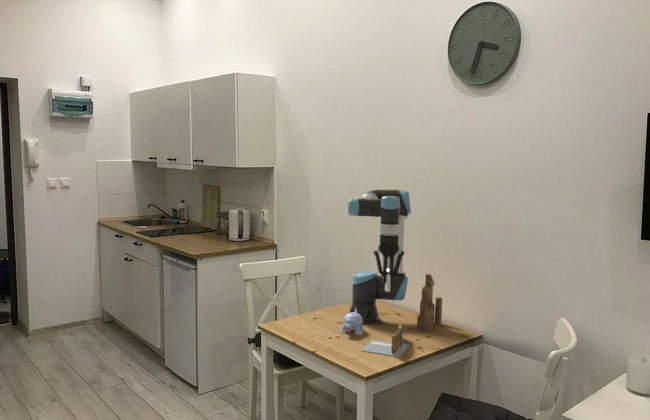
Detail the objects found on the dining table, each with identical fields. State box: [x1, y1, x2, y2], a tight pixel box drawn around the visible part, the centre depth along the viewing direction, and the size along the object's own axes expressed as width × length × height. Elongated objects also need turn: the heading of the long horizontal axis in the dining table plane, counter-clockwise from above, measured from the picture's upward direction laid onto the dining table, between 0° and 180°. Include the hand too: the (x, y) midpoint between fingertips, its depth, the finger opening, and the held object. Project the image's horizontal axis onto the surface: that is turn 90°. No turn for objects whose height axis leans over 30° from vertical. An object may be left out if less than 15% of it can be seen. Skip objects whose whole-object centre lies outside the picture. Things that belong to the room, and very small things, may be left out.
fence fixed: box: [391, 329, 403, 354], centre depth 220 cm, size 2×11×8 cm, turn 157°
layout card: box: [361, 338, 410, 358], centre depth 223 cm, size 16×15×1 cm
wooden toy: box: [416, 273, 443, 332], centre depth 254 cm, size 16×7×25 cm, turn 147°
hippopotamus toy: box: [338, 308, 366, 336], centre depth 243 cm, size 11×15×10 cm
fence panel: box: [398, 319, 403, 330], centre depth 232 cm, size 12×1×7 cm, turn 172°
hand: (387, 290), depth 221 cm, fingers closed
